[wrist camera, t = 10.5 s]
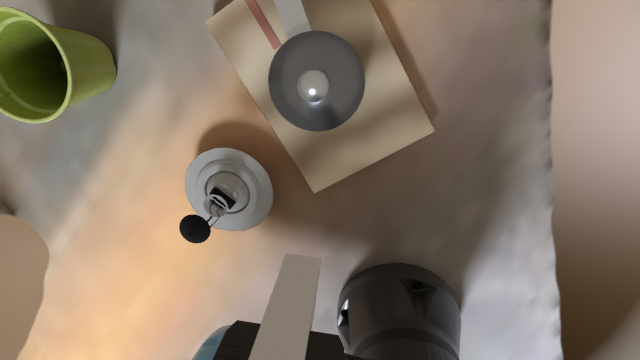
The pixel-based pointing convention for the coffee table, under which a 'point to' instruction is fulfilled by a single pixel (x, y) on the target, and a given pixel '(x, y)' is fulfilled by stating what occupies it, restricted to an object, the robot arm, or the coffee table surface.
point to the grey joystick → (225, 193)
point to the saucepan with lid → (314, 73)
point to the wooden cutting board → (377, 103)
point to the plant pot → (48, 67)
